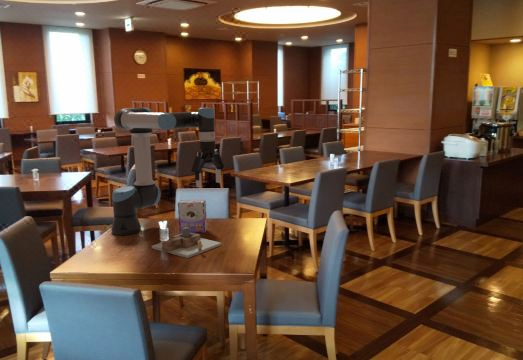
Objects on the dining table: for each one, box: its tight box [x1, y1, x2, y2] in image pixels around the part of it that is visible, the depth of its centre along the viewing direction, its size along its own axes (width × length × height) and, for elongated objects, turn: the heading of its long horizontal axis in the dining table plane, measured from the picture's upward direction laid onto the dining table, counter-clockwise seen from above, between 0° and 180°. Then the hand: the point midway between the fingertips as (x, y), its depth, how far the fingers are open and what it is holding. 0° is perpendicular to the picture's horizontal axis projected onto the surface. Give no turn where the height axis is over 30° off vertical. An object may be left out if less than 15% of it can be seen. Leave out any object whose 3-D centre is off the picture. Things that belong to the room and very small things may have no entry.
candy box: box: [177, 199, 208, 234], centre depth 243 cm, size 14×6×16 cm, turn 84°
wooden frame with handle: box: [161, 233, 201, 253], centre depth 215 cm, size 18×9×4 cm, turn 143°
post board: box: [151, 227, 222, 259], centre depth 218 cm, size 24×22×9 cm
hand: (209, 184), depth 223 cm, fingers open, 13 cm apart
